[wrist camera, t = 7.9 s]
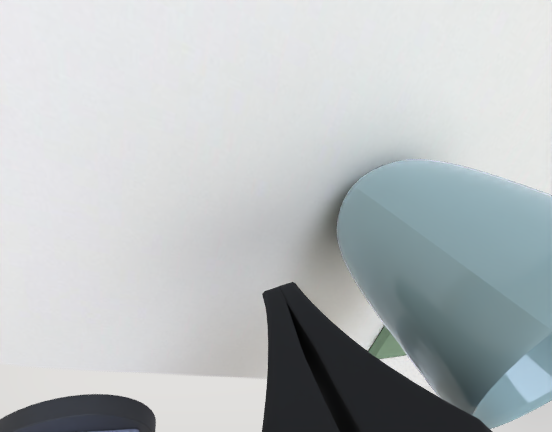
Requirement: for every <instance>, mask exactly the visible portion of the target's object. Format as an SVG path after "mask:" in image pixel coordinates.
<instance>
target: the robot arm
mask: <svg viewBox="0 0 552 432" xmlns="http://www.w3.org/2000/svg"><path fill="white" fill-rule="evenodd" d="M262 295H263V299H264V303H265V307H266V313H267V323H268V376H267V390H266V402H265V411H264V420H263V428H262V432H492V431H491V430H490V429H489V428H488V427H487V426H486V425H485V424H484V423H483V422H482V421H481V420H480V419H478V418H476V417H475V416H473V415H471V414H469V413H467V412H465V411H463V410H461V409H459V408H458V407H456V406H454V405H452V404H450V403H448V402H447V401H445V400H443V399H441V398H439V397H438V396H436V395H434V394H433V393H431V392H429V391H427V390H426V389H424V388H422V387H421V386H419V385H417V384H416V383H414V382H412V381H411V380H409V379H408V378H406V377H405V376H403V375H402V374H400V373H398V372H397V371H395V370H394V369H392V368H391V367H389V366H388V365H386V364H385V363H383V362H382V361H380V360H379V359H378V358H376V357H375V356H373V355H372V354H371V353H369V352H368V351H367V350H365V349H364V348H363V347H361V346H360V345H359V344H357V343H356V342H355V341H354V340H352V339H351V338H350V337H349V336H348V335H346V334H345V333H344V332H343V331H342V330H340V329H339V328H338V327H337V326H336V325H335V324H334V323H332V322H331V321H330V320H329V319H328V318H327V317H326V316H325V315H324V314H323V313H322V312H321V311H320V310H319V309H318V308H317V307H316V306H315V305H314V304H313V303H312V302H311V301H310V300H309V299H308V298H307V297H306V296H305V295H304V293H303V292H302V291H301V290H300V289H299V287H298V286H297V285H296V284H295V283H294V282H291V283H288V284H285V285H282V286H279V287H276V288H273V289H270V290H267V291H265V292H264V293H263V294H262ZM87 432H139V430H138V429H120V430H104V431H87Z"/></svg>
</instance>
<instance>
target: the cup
mask: <svg viewBox="0 0 552 432" xmlns="http://www.w3.org/2000/svg"><path fill="white" fill-rule="evenodd" d="M337 241H338V245H339V248H340V252H341V256H342V258H343V261H344V263H345V265H346V267H347V269H348V271H349V273H350V274H351V276H352V278H353V279H354V281H355V283H356V284H357V286H358V288H359V289H360V291H361V292H362V294H363V295H364V297H365V299H366V300H367V301H368V303H369V304H370V306H371V307H372V309H373V310H374V312H375V313H376V314H377V316H378V317H379V319H380V320H381V321H382V323H383V324H384V326H385V327H386V328H387V330H388V331H389V332H390V334H391V335H392V336H393V338H394V339H395V340H396V342H397V343H398V344H399V346H400V347H401V348H402V350H403V351H404V352H405V354H406V355H407V356H408V357H409V359H410V360H411V361H412V363H413V364H414V365H415V367H416V368H417V369H418V371H419V372H420V373H421V375H422V376H423V377H424V378H425V380H426V381H427V382H428V384H429V385H430V386H431V388H432V389H433V390H434V391H435V393H436V394H437V395H438V396H439V398H441V399H443V400H445V401H447V402H448V403H450V404H452V405H454V406H456V407H458V408H459V409H461V410H463V411H465V412H467V413H469V414H471V415H473V416H475V417H476V418H478V419H480V420H481V421H482V422H483V423H484V424H485V425H486V426H487V427H488V428H489V429H491V428H495V427H498V426H500V425H503V424H505V423H508V422H510V421H513V420H514V419H517V418H519V417H521V416H523V415H525V414H527V413H529V412H531V411H533V410H535V409H537V408H539V407H540V406H542V405H544V404H546V403H548V402H549V401H551V400H552V195H550V194H547V193H545V192H542V191H539V190H536V189H533V188H531V187H528V186H525V185H522V184H519V183H516V182H513V181H510V180H508V179H505V178H502V177H499V176H496V175H492V174H489V173H486V172H483V171H480V170H476V169H472V168H469V167H465V166H461V165H457V164H452V163H448V162H442V161H434V160H424V159H408V160H400V161H395V162H392V163H388V164H385V165H382V166H380V167H377V168H375V169H373V170H371V171H370V172H368V173H367V174H365V175H364V176H362V177H361V178H360V179H359V180H358V181H357V182H356V183H355V184H354V185H353V186H352V187H351V188H350V190H349V191H348V193H347V194H346V196H345V198H344V200H343V202H342V204H341V207H340V210H339V213H338V218H337Z"/></svg>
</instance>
